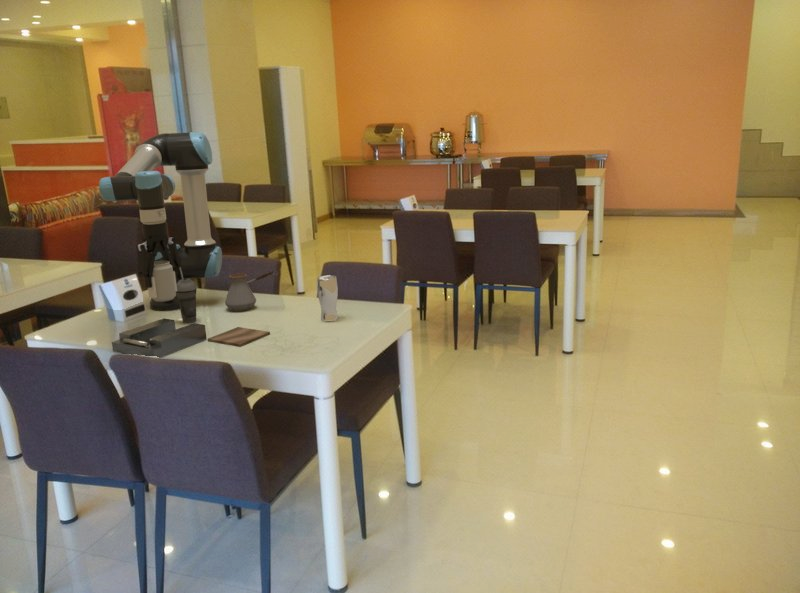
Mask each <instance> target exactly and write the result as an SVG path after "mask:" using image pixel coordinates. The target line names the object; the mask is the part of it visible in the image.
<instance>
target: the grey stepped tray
mask: <svg viewBox="0 0 800 593" xmlns="http://www.w3.org/2000/svg"><path fill="white" fill-rule="evenodd" d="M206 331H207V330H206V324H201V323H197V322H194V323H189V324H188V325H184V326H182V327H179V328H176V320H175V319H171V318H162V319H158V320H155V321H151V322H149V323H146V324H142V325H140V326H137V327H134V328H130V329H128V330H124V331H122V332H119V333H118V336H119V339H115V340H113V341H111V348H112V352H115V353H120V354H124V353H129V354H137V355H145V356H157V357H161V358H163V357H166V356H168V355H171V354H173V353H176V352H178V351H179V352H180V351H182V350H183V349H186V348H190V347H191V346H194V345H196V344H199V343H202V342H205V341H208V338H207V332H206ZM129 354H128V355H129Z"/></svg>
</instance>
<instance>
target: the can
mask: <svg viewBox="0 0 800 593" xmlns="http://www.w3.org/2000/svg"><path fill="white" fill-rule="evenodd" d="M169 263H170V262H169V261H155V262H154V267H153V273H152V277H154V278H155V286H156V293H157V298H152V297H150V299H151V298H152V299H153V300H154V301H158V302H163V301H169V300H172V299H174V297H175V296H176V291H175V283H174V275H173V267H172V265H171V264H169Z"/></svg>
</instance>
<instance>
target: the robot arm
mask: <svg viewBox="0 0 800 593" xmlns="http://www.w3.org/2000/svg"><path fill="white" fill-rule="evenodd" d="M212 162H213V151H212V148H211V144H210V142H209V139H208V136H206V135H205V134H204V133H203V132H198V131H197V132H196V131H195V132H194V131H193V132H192V131H191V132H172V133H167V132H165V133H159V134H156V135H154V136H151V137H149V138H147V139H145V140H144V141H143V142H141V143H140V144H139V145H138V146H137V147H136V148H135V150H134V154H133V156H132V157H130V159H129V160H128V161H127V162H126V163H125V165H123V166H122V167H121V168H120V170H119V171H118V172H116V174H115V175H114V176H105V177H102V178H100V180H99V183H98V191H99V194H100V197H101V199H103V201H106V202H108V201H109V202H122V201H123V202H124V201H137V202H138V209H139V218H140V222H141V223H142V224H141V225H140V226H141V231H142V232H141V233H142V236H143V238H144V241H143V242H142V243H140V244H136V250H137V267H138V268H137V272H138V273H137V274H138V275H137V276H138V277H140V278H141V277H142V278H144V280H145V281H144V282H145V286H146V288H147V290H148V297H149V298H150V300H149V309H150V310H153V311H159V312H162V311H163V312H164V311H174V310H180V306H179V302H178V297H177V295H176V296H175V297H174V299H172V300H169V301H163V302H158V301H154V300H153V299H152V298H157V293H156V286H155V278H154V277H152V273H153V267H154V262H155V261H169V262H170V263H169V264H171V265H172V267H173V275H174V283H175V291H177V285H176V284H177V283H178V281H180V280H181V279H182V277H181V273H180V267H181V271H182V275H183V279H185V278H187V279H207V278H208V279H209V278H215V277H217V276H219V274H220V272H221V269H222V264H223V252H222V248H221V247H220V246H218V245H217V242H216V240H214V239H213V238H212V235H211V234H212V233H211V226H210V225H211V224H210V213H209V204H208V194H207V184H206V173H207V171H208V170H209V165H211V164H212ZM167 166H168V167H169V166H170V167H173V166H174V167H175V171H176V173H178V174H179V176H180V180H181V181H180V182H181V193H182V198H183V199H182V200H183V208H184V218H185V227H186V236H187V240H186V241H185V242H184V244H183V247H184V248H183V247H182V248H181V245H180V244H177V238H176V237H170V236H169V237H168V233H169V229H168V223H167V221H166V220H167V213H166V204H165V199H168V198H170V197H171V196H172V195H173V194H174V192H175V190H176V183H175V181H174V178H172V177H171V176H170V175H168V174H163V173H161V172H160V171H158V170H156V169H157V168H159V167H167ZM151 297H152V298H151Z"/></svg>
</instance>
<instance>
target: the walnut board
mask: <svg viewBox="0 0 800 593" xmlns="http://www.w3.org/2000/svg"><path fill="white" fill-rule="evenodd" d="M269 335H271V332H270V331H265V330H260V329H254V328H248V327H241V326H237V327H234V328H232V329H229V330H227V331H224V332H222V333H221V332H220V333H219V334H216V335H214V336H211V337H209V338H207V342H211V343H217V344H223V345H228V346H234V347H239V348H241V347H243V346H245V345H247V344H250V343H253V342H255V341H257V340H260V339H262V338H264V337H267V336H269Z"/></svg>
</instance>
